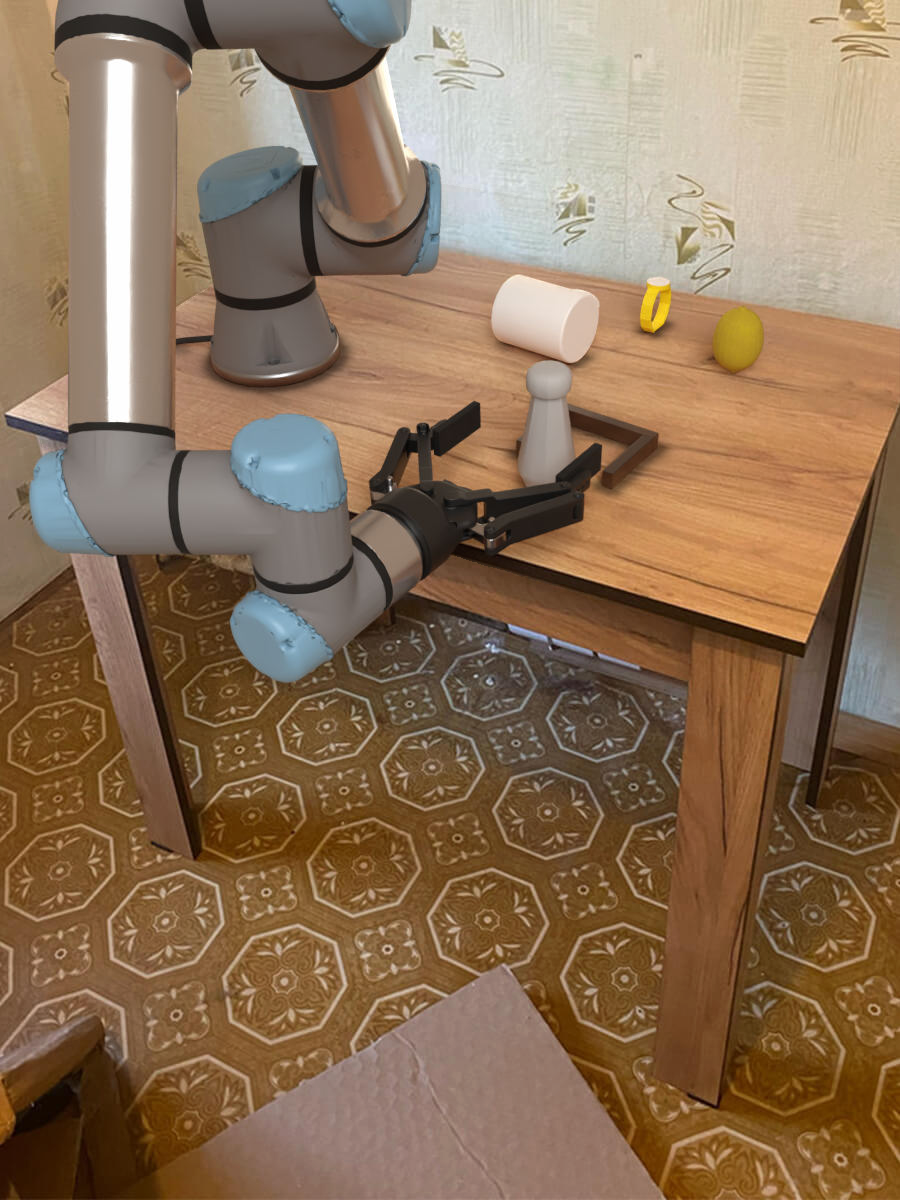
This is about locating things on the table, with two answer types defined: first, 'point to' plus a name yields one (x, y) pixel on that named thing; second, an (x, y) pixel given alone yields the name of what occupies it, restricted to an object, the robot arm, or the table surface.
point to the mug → (545, 318)
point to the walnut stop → (617, 430)
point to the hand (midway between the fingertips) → (536, 434)
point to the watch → (649, 299)
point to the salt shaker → (546, 424)
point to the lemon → (738, 339)
